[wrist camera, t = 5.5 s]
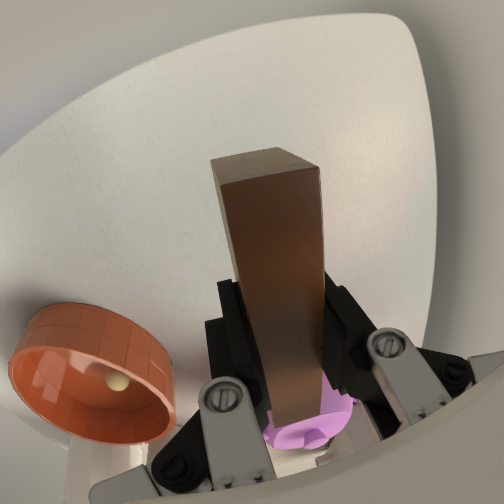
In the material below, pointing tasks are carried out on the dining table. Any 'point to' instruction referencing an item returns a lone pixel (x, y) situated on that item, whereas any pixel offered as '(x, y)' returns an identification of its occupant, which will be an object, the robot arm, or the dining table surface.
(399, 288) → the dining table surface
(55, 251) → the dining table surface
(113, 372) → the dough ball
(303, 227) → the brown wooden bar
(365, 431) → the grey faceted block
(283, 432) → the teapot
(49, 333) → the bowl
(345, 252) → the dining table surface
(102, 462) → the container
